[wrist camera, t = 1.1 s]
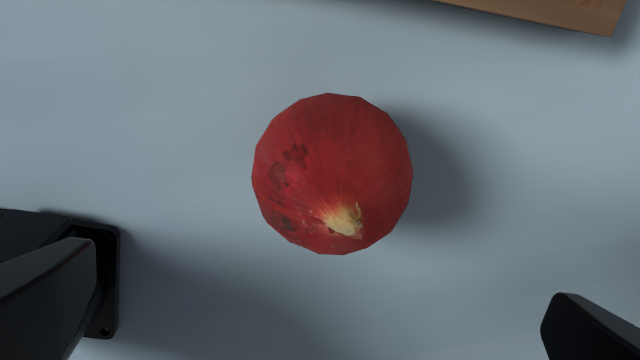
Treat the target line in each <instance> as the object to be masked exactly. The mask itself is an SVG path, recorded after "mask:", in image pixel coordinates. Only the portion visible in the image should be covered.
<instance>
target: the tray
mask: <svg viewBox="0 0 640 360" xmlns="http://www.w3.org/2000/svg"><path fill="white" fill-rule="evenodd" d="M429 1H434V2H438V3H443V4H448V5H453V6H457V7H462V8H467V9H472V10H476V11H481V12H486V13H491V14H496V15H500V16H505V17H510V18H515V19H519V20H524V21H529V22H534V23H539V24H543V25H548V26H553V27H558V28H562V29H567V30H572V31H577V32H583V33H589V34H596V35H602V36H608V37H612V34H613V32H614V29H615V27H616V25H617V22H618V20H619V17H620V15H621V13H622V10H623V8H624V5H625V3H626V1H627V0H429Z"/></svg>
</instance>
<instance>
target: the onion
mask: <svg viewBox="0 0 640 360" xmlns="http://www.w3.org/2000/svg"><path fill="white" fill-rule="evenodd" d="M412 179H413V170H412V165H411V160H410V156H409V151H408V147H407V142H406V139H405V138H404V136H403V135H402V133H401V132H400V131H399V129H398V128H397V126H396V125H395V123H394V122H393V121H392V119H391V118H390V116H389V115H388V114H387V113H385V112H384V111H382V110H380V109H379V108H377V107H376V106H374V105H372V104H371V103H369V102H367V101H366V100H364V99H363V98H361V97H357V96H347V95H340V94H332V93H325V94H320V95H316V96H312V97H308V98H304V99H300V100H298V101H297V102H296V103H294V104H293V105H291V106H290V107H288V108H287V109H285V110H284V111H282V112H281V113H280V114H278V115H277V116H276V117H275V118H274V119H273V120H272V121H271V123H270V124H269V126H268V127H267V129H266V131H265V132H264V134H263V135H262V137H261V139H260V140H259V142H258V144H257V145H256V149H255V156H254V163H253V170H252V186H253V189H254V192H255V195H256V198H257V201H258V203H259V206H260V209H261V212H262V215H263V217H264V218H265V220H266V221H267V223H268V224H269V225H270V226H272V227H273V228H274V229H275V230H276V231H277V232H279V233H280V234H281V235H282V236H283V237H284V238H286V239H287V240H288V241H289V242H291V243H294V244H296V245H299V246H302V247H304V248H307V249H309V250H311V251H313V252H315V253H317V254H331V255H345V254H349V253H352V252H355V251H358V250H362V249H365V248H368V247H369V246H371V245H372V244H374V243H375V242H377V241H378V240H380V239H381V238H383V237H384V236H386V235H387V234H389V233H390V232H391V231H392V230H393V228H394V226H395V225H396V223H397V222H398V220H399V218H400V217H401V215H402V213H403V212H404V210H405V208H406V207H407V205H408V202H409V196H410V191H411V185H412Z"/></svg>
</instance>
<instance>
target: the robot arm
mask: <svg viewBox="0 0 640 360" xmlns="http://www.w3.org/2000/svg"><path fill="white" fill-rule="evenodd" d="M104 234H107V235H109V236H110V237H111V239H107V238H106V237H105V236H104ZM119 263H120V233H119V231H118V230H117V229H116V228H115V227H113V226H110V225H103V224H96V223H90V222H83V221H76V220H71V219H69V218H68V217H63V216H56V215H49V214H43V213H36V212H29V211H23V210H16V209H13V210H11V211H9V210H2V209H0V360H68V358H69V357H70V355H71V354H72V352H73V351H74V349H75V348H76V346H77V344H78V343H79V341H80V340H81V338H82V337H87V338H95V339H103V340H108V339H111V338H112V337H113V336H114V335H115V333H116V331H117V329H118V299H119ZM104 328H106V329H108V330H109V331H107V330H105V329H104ZM540 333H541V338H542V341H543V344H544V346H545V349H546V352H547V355H548V357H549V360H640V328H638V327H636V326H635V325H633V324H631V323H629V322H627V321H626V320H624V319H622V318H620V317H618V316H616V315H615V314H613V313H611V312H609V311H607V310H606V309H604V308H602V307H600V306H598V305H597V304H595V303H593V302H591V301H589V300H587V299H586V298H584V297H582V296H580V295H578V294H572V293H563V292H559V293H556V294H555V295H554V296H553V297H552V299H551V301H550V304H549V306H548V309H547V311H546V313H545V316H544V318H543V321H542V323H541V328H540Z"/></svg>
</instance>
